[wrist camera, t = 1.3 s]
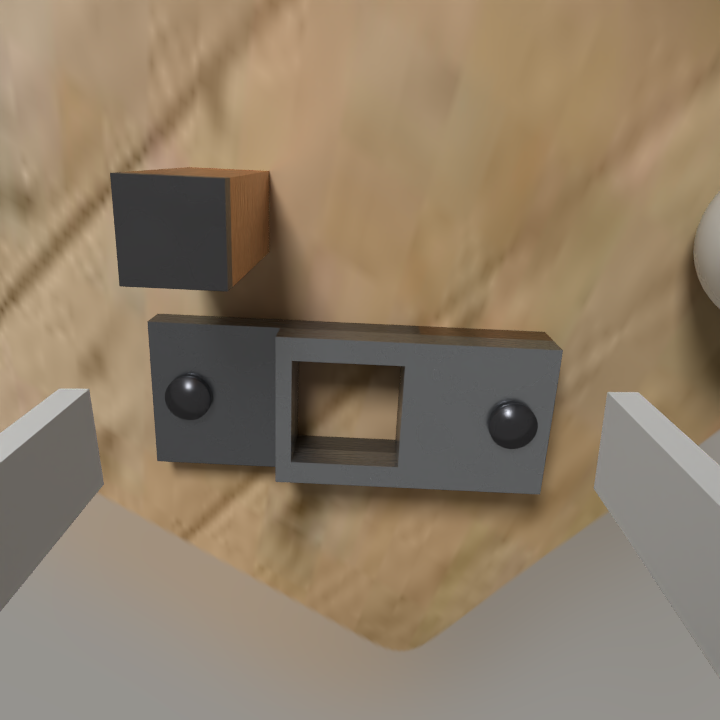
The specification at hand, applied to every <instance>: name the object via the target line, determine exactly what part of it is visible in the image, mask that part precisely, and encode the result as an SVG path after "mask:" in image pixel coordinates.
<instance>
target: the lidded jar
mask: <svg viewBox="0 0 720 720" xmlns="http://www.w3.org/2000/svg"><path fill="white" fill-rule="evenodd" d="M693 254H694V265H695V269H696V272H697V276H698V279H699V281H700V283H701V285H702V288H703V290H704V291H705V293H706V294H707V295H708V297H709V298H710V299H711V301H712V302H713V303H714V304H715V305H716V306H717V307H718V308H719V309H720V191H719V192H718V193H717V194H716V196H715V197H714V198H713V200H712V201H711V202H710V203H709V205H708V207H707V208H706V210H705V212H704V214H703V215H702V218H701V220H700V223H699V225H698V228H697V231H696V236H695V240H694V251H693Z"/></svg>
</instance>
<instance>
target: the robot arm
mask: <svg viewBox="0 0 720 720" xmlns="http://www.w3.org/2000/svg"><path fill="white" fill-rule="evenodd" d="M103 485H104V482H103V475H102V469H101V463H100V456H99V450H98V443H97V437H96V430H95V424H94V417H93V411H92V404H91V398H90V392H89V389H58V390H57V391H56V392H54V393H53V394H52V395H50V396H49V397H48V398H46V399H45V400H44V401H42V402H41V403H40V404H38V405H37V406H36V407H34V408H33V409H32V410H30V411H29V412H28V413H26V414H25V415H24V416H22V417H21V418H20V419H18V420H17V421H16V422H14V423H13V424H12V425H10V426H9V427H8V428H6V429H5V430H4V431H2V432H1V433H0V611H1V610H2V609H3V608H4V606H5V605H6V604H7V603H8V602H9V600H10V599H11V598H12V597H13V595H14V594H15V593H16V592H17V591H18V589H19V588H20V587H21V585H22V584H23V583H24V582H25V581H26V579H27V578H28V577H29V576H30V574H31V573H32V572H33V571H34V570H35V568H36V567H37V566H38V565H39V563H40V562H41V561H42V560H43V558H44V557H45V556H46V555H47V554H48V552H49V551H50V550H51V549H52V547H53V546H54V545H55V544H56V542H57V541H58V540H59V539H60V537H61V536H62V535H63V534H64V533H65V531H66V530H67V529H68V528H69V526H70V525H71V524H72V523H73V522H74V520H75V519H76V518H77V517H78V515H79V514H80V513H81V512H82V510H83V509H84V508H85V507H86V505H87V504H88V503H89V502H90V501H91V499H92V498H93V497H94V496H95V494H96V493H97V492H98V491H99V489H100V488H101V487H102V486H103ZM594 489H595V491H596V492H597V494H598V495H599V497H600V498H601V500H602V502H603V503H604V505H605V506H606V508H607V509H608V511H609V512H610V514H611V515H612V517H613V518H614V520H615V521H616V523H617V524H618V525H619V527H620V528H621V530H622V531H623V533H624V535H625V536H626V537H627V539H628V541H629V542H630V544H631V545H632V547H633V548H634V550H635V551H636V553H637V554H638V556H639V557H640V559H641V560H642V562H643V563H644V565H645V566H646V568H647V569H648V571H649V572H650V574H651V575H652V577H653V579H654V580H655V582H656V583H657V585H658V586H659V588H660V589H661V591H662V592H663V594H664V595H665V597H666V598H667V600H668V601H669V603H670V604H671V606H672V607H673V609H674V610H675V611H676V613H677V615H678V616H679V618H680V619H681V621H682V622H683V624H684V625H685V627H686V628H687V630H688V631H689V633H690V634H691V636H692V637H693V639H694V640H695V642H696V643H697V645H698V647H699V648H700V650H701V651H702V653H703V654H704V656H705V657H706V659H707V660H708V662H709V663H710V665H711V666H712V668H713V669H714V671H715V672H716V674H717V675H718V677H719V678H720V465H719V464H718V463H716V462H715V461H714V460H713V459H712V458H711V457H710V456H708V455H707V454H706V453H705V452H704V451H703V450H702V449H701V448H700V447H699V446H697V445H696V444H695V443H694V442H693V441H692V440H691V439H690V438H689V437H687V436H686V435H685V434H684V433H683V432H682V431H681V430H680V429H679V428H677V427H676V426H675V425H674V424H673V423H672V422H671V421H670V420H669V419H667V418H666V417H665V416H664V415H663V414H662V413H661V412H660V411H658V410H657V409H656V408H655V407H654V406H653V405H652V404H651V403H650V402H648V401H647V400H646V399H645V398H644V397H643V396H642V395H641V394H640V393H638V392H607V399H606V406H605V413H604V420H603V427H602V435H601V442H600V449H599V456H598V463H597V470H596V477H595V485H594Z"/></svg>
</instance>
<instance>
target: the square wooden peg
mask: <svg viewBox="0 0 720 720" xmlns="http://www.w3.org/2000/svg"><path fill="white" fill-rule="evenodd" d="M110 177H111V189H112V201H113V213H114V225H115V237H116V248H117V260H118V272H119V284H120V286H125V287H146V288H167V289H188V290H209V291H229V290H230V289H231V288H232V287H233V286H234V285H235V284H236V283H237V282H238V281H239V280H240V279H241V278H242V277H243V276H245V275H246V274H247V273H248V272H249V271H250V270H251V269H252V268H253V267H254V266H255V265H256V264H257V263H258V262H259V261H260V260H261V259H262V258H263V257H264V256H266V255H267V254H268V253H269V171H256V170H235V169H213V168H192V167H187V168H173V169H159V170H145V171H131V172H117V173H110Z"/></svg>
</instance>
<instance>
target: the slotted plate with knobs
mask: <svg viewBox="0 0 720 720" xmlns="http://www.w3.org/2000/svg"><path fill="white" fill-rule="evenodd" d="M148 334H149V348H150V362H151V376H152V391H153V405H154V419H155V433H156V448H157V461H168V462H188V463H209V464H230V465H251V466H272V467H276V482H294V483H315V484H335V485H356V486H377V487H397V488H418V489H439V490H460V491H480V492H501V493H522V494H540V491H541V485H542V478H543V472H544V466H545V460H546V453H547V447H548V441H549V434H550V428H551V422H552V416H553V409H554V403H555V397H556V390H557V384H558V378H559V372H560V365H561V359H562V353H563V350H562V349H561V348H560V347H559V346H558V345H557V344H556V343H555V342H554V341H553V340H552V339H551V338H550V337H549V336H548V335H547V334H546V333H545V332H530V331H509V330H488V329H467V328H446V327H425V326H403V325H382V324H361V323H340V322H319V321H298V320H277V319H256V318H235V317H214V316H193V315H172V314H157V315H156V316H154V317H153V318H152V319H150V320H149V321H148ZM299 361H305V362H326V363H347V364H368V365H389V366H401V368H400V383H399V397H398V411H397V426H396V440H385V439H364V438H343V437H322V436H301V435H298V383H299Z"/></svg>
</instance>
